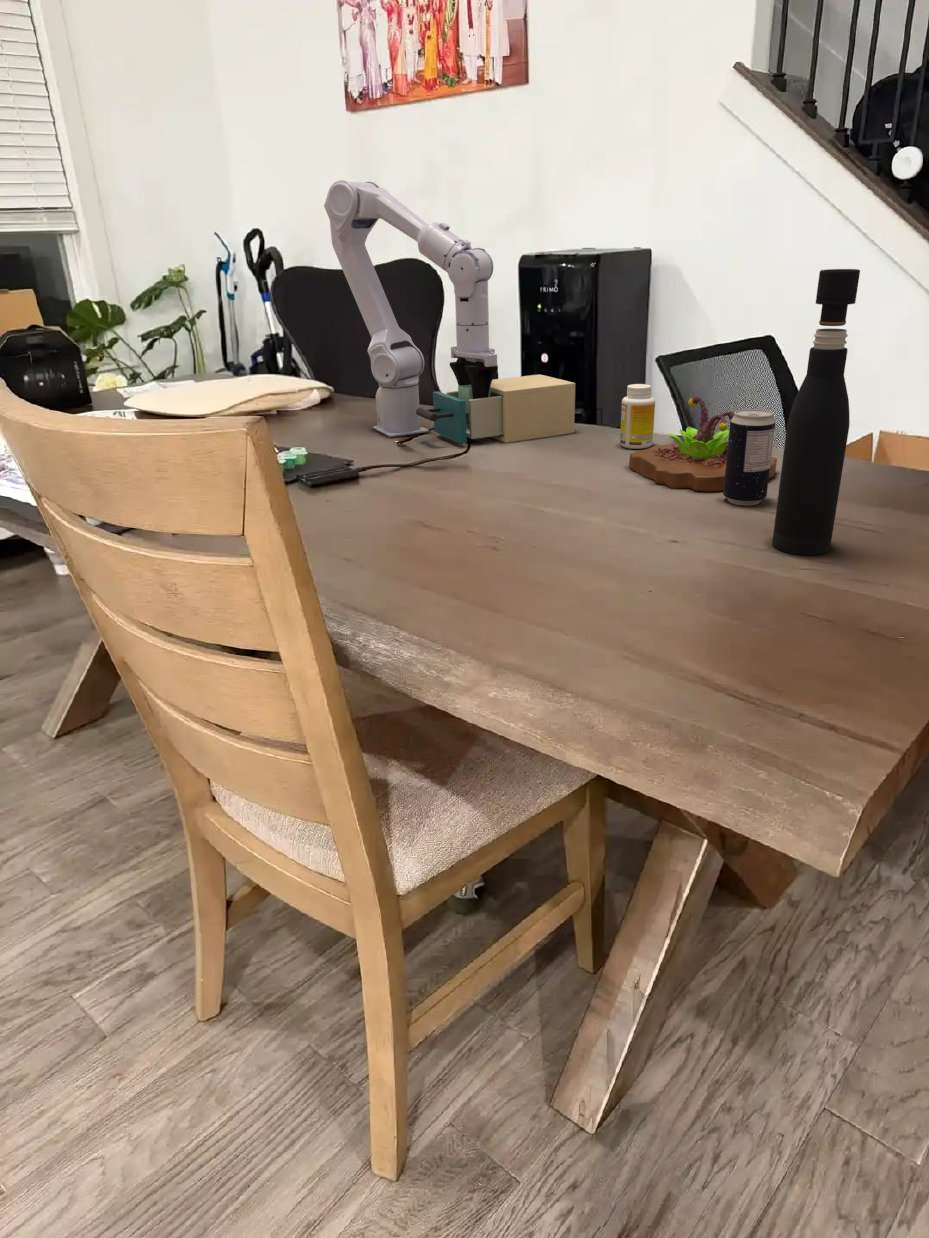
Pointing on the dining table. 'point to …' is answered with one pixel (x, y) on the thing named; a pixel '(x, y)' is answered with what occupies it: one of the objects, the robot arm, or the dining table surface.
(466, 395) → the sage green cube
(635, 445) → the supplement bottle
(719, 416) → the plant
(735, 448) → the beverage can
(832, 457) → the black water bottle
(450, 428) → the drawer
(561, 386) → the beige box
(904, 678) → the dining table surface
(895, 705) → the dining table surface
